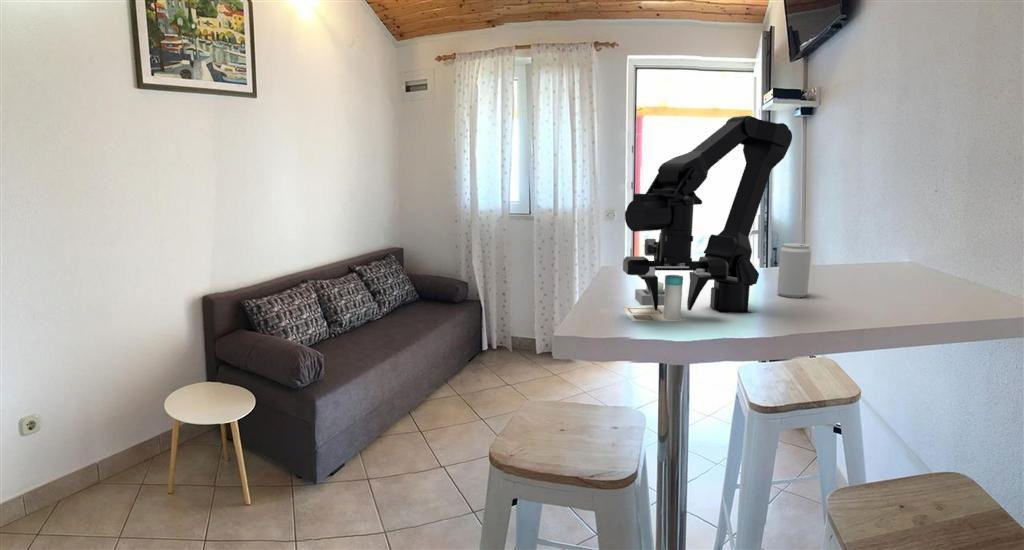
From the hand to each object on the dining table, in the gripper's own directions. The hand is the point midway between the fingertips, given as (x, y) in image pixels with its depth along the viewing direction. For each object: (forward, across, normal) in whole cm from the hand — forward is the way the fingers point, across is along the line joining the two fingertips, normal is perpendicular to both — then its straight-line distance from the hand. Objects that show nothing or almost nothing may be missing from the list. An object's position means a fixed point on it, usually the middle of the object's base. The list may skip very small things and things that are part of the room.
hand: (672, 310), depth 115 cm
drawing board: (+2, +3, -4) cm, 5 cm away
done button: (0, 0, -15) cm, 15 cm away
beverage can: (+2, -34, -24) cm, 42 cm away
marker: (+2, 0, 0) cm, 2 cm away
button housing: (+2, 0, -15) cm, 15 cm away
